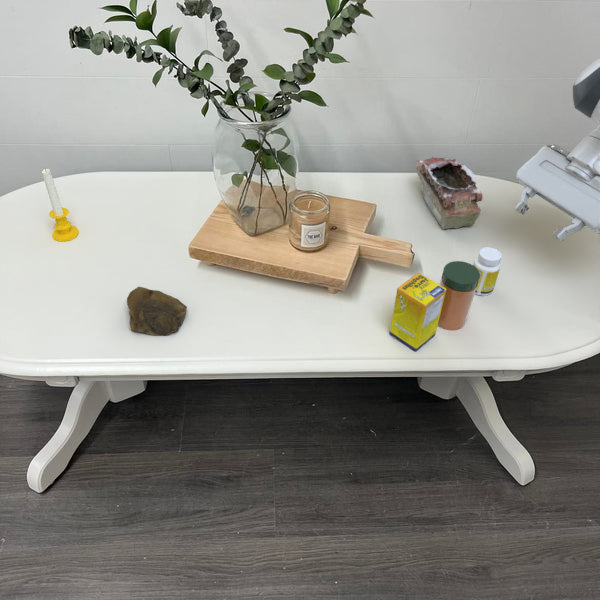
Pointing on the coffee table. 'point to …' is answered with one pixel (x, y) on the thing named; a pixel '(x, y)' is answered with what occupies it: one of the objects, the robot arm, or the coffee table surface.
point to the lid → (460, 276)
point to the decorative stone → (154, 312)
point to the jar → (455, 308)
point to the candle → (58, 212)
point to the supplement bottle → (487, 270)
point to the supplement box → (417, 311)
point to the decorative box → (449, 191)
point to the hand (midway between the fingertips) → (536, 224)
